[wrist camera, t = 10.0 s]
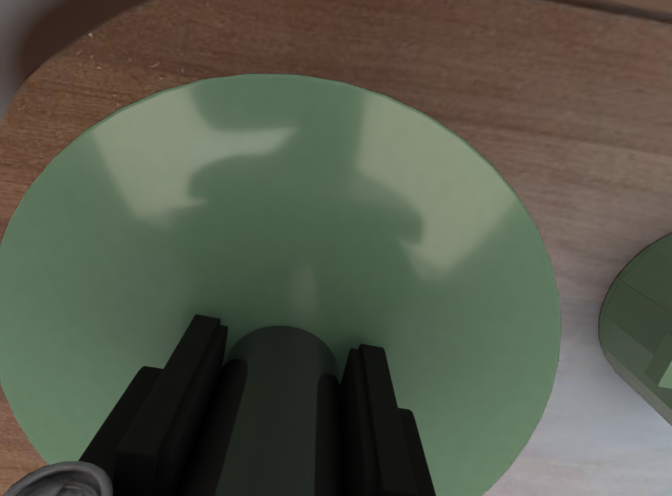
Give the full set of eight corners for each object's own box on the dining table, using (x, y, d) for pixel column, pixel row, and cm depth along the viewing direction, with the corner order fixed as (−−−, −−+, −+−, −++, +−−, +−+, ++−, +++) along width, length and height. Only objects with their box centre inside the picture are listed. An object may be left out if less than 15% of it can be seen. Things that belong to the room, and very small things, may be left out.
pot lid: (14, 6, 9) (-607, -167, 3) (625, 150, 10) (1042, 229, 4) (26, 497, 13) (-210, 819, 7) (450, 553, 14) (535, 864, 9)
